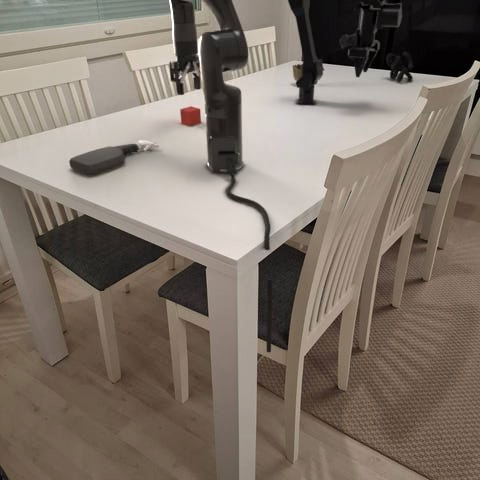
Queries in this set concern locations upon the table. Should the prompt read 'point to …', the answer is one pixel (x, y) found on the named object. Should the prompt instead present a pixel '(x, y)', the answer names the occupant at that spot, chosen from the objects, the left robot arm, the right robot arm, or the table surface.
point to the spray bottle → (106, 157)
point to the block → (190, 116)
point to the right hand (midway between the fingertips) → (361, 74)
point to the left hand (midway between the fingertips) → (189, 91)
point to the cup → (297, 71)
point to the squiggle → (399, 66)
